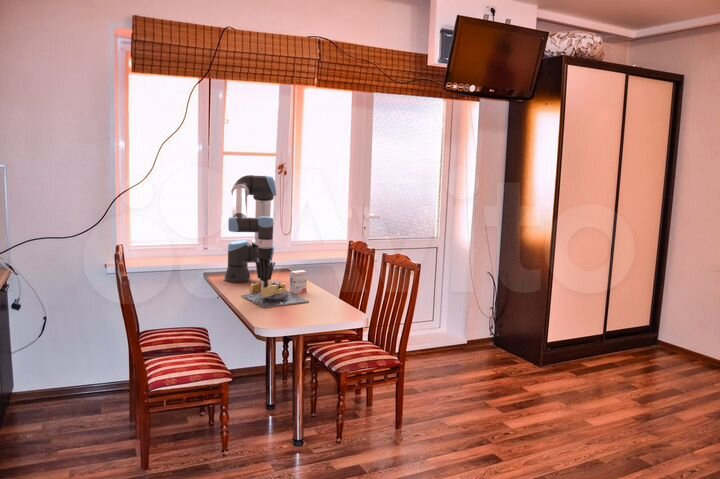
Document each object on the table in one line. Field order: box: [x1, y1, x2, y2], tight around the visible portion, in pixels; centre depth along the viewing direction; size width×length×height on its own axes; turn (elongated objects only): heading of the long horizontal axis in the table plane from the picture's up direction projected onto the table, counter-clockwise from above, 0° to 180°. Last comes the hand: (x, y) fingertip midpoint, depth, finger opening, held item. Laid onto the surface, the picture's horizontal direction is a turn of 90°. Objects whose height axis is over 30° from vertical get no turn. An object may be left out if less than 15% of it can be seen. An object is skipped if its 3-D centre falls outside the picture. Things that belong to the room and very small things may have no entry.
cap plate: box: [240, 281, 310, 309], centre depth 306 cm, size 26×26×9 cm
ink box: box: [289, 270, 308, 295], centre depth 324 cm, size 9×5×12 cm, turn 134°
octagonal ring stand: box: [249, 280, 287, 297], centre depth 303 cm, size 18×11×5 cm, turn 145°
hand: (263, 292), depth 297 cm, fingers closed
